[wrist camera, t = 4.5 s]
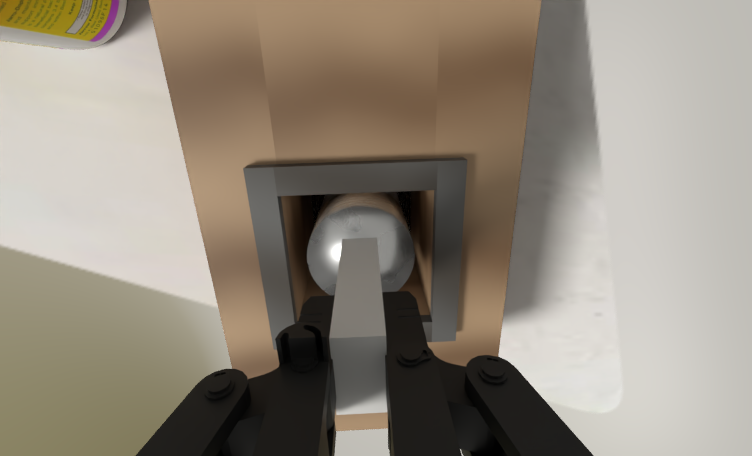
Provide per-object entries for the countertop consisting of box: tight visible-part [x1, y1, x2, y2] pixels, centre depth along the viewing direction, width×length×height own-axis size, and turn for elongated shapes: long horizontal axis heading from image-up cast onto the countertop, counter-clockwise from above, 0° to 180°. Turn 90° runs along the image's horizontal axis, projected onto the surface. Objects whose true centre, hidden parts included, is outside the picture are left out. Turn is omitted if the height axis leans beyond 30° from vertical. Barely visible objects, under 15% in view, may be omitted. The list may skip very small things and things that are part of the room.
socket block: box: [148, 0, 541, 431], centre depth 20 cm, size 22×14×9 cm, turn 2°
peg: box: [307, 192, 415, 295], centre depth 20 cm, size 5×5×8 cm
